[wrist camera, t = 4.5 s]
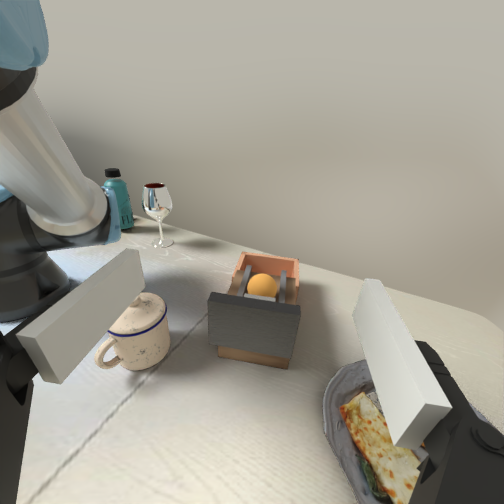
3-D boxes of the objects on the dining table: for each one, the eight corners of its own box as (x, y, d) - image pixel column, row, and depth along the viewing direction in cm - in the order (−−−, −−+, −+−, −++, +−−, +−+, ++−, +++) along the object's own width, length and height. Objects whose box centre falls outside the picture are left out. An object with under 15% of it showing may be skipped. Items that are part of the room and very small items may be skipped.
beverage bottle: (123, 235, 78) (109, 172, 68) (110, 230, 80) (94, 168, 71) (140, 228, 83) (128, 168, 73) (126, 223, 86) (113, 165, 76)
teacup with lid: (146, 322, 47) (135, 273, 41) (182, 340, 44) (176, 290, 38) (86, 372, 38) (61, 318, 32) (127, 400, 34) (107, 346, 29)
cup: (293, 312, 52) (299, 286, 49) (231, 302, 53) (232, 276, 50) (294, 282, 61) (298, 259, 58) (241, 274, 63) (242, 251, 59)
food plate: (613, 559, 24) (642, 549, 22) (448, 710, 17) (472, 712, 16) (406, 354, 45) (413, 341, 43) (294, 388, 38) (297, 374, 37)
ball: (256, 313, 38) (258, 289, 36) (241, 295, 42) (242, 272, 40) (281, 304, 41) (284, 280, 38) (264, 287, 44) (267, 265, 42)
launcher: (287, 369, 40) (297, 325, 35) (218, 356, 41) (217, 311, 36) (289, 311, 52) (296, 271, 47) (235, 302, 53) (237, 263, 48)
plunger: (287, 371, 29) (300, 315, 25) (209, 356, 30) (207, 300, 26) (289, 316, 38) (299, 266, 33) (228, 306, 39) (228, 256, 34)
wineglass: (178, 237, 79) (173, 183, 70) (172, 249, 72) (165, 190, 63) (153, 236, 79) (145, 181, 70) (144, 248, 71) (133, 188, 63)
